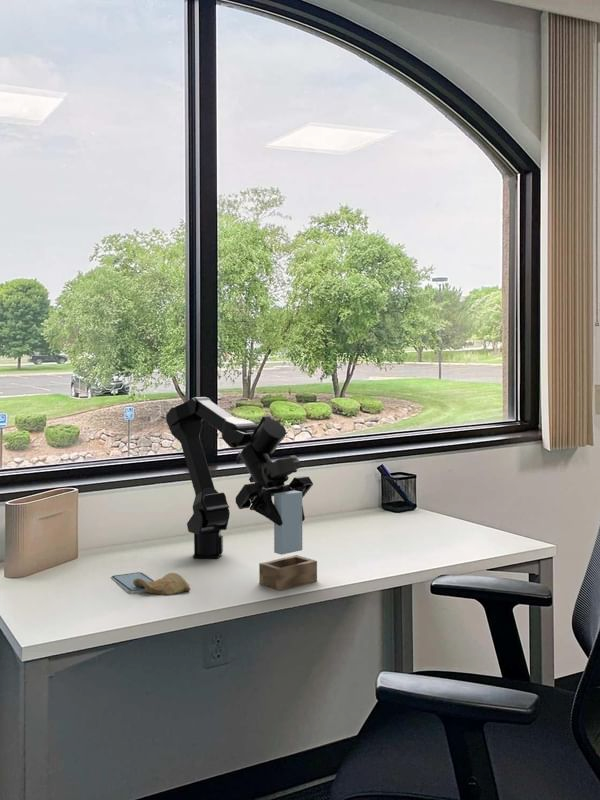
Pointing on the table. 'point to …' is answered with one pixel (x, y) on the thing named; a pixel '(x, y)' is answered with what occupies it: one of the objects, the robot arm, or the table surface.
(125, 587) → the smartphone
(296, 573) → the brown wooden open box
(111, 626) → the table surface
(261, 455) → the robot arm
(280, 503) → the slate card
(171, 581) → the brown tapered lumpy piece
